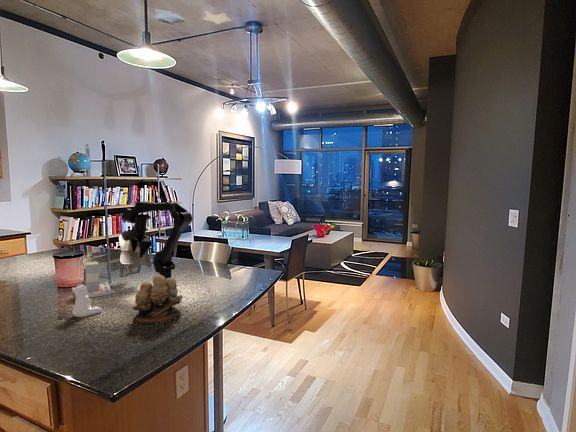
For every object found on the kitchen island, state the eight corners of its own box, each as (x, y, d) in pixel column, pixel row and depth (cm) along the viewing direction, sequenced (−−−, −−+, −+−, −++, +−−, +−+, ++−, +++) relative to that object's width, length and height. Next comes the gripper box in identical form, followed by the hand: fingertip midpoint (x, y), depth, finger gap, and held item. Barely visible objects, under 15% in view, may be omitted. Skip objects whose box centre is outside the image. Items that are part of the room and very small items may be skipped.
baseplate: (108, 285, 170) (108, 282, 170) (111, 294, 159) (111, 290, 158) (75, 289, 163) (74, 285, 163) (75, 299, 151) (74, 294, 151)
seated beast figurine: (103, 312, 138) (102, 282, 137) (85, 320, 130) (84, 288, 128) (83, 309, 140) (82, 279, 139) (64, 317, 132) (63, 285, 131)
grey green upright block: (98, 286, 164) (97, 261, 163) (99, 289, 160) (98, 263, 159) (86, 288, 162) (85, 262, 160) (86, 291, 157) (85, 265, 156)
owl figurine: (179, 309, 143) (179, 268, 141) (186, 319, 133) (186, 275, 131) (130, 316, 134) (130, 272, 132) (135, 328, 124) (134, 281, 122)
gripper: (117, 220, 181) (114, 249, 183) (131, 231, 168) (128, 262, 171) (139, 220, 189) (135, 248, 191) (154, 230, 176) (150, 260, 179)
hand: (136, 254), depth 183 cm, fingers open, 9 cm apart
